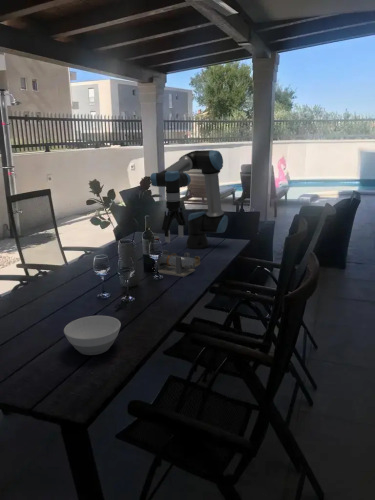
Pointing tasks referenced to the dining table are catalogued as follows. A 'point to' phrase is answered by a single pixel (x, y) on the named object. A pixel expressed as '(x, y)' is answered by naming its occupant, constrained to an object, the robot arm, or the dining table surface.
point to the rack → (197, 260)
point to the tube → (171, 261)
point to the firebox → (174, 270)
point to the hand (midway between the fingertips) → (174, 239)
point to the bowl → (92, 334)
